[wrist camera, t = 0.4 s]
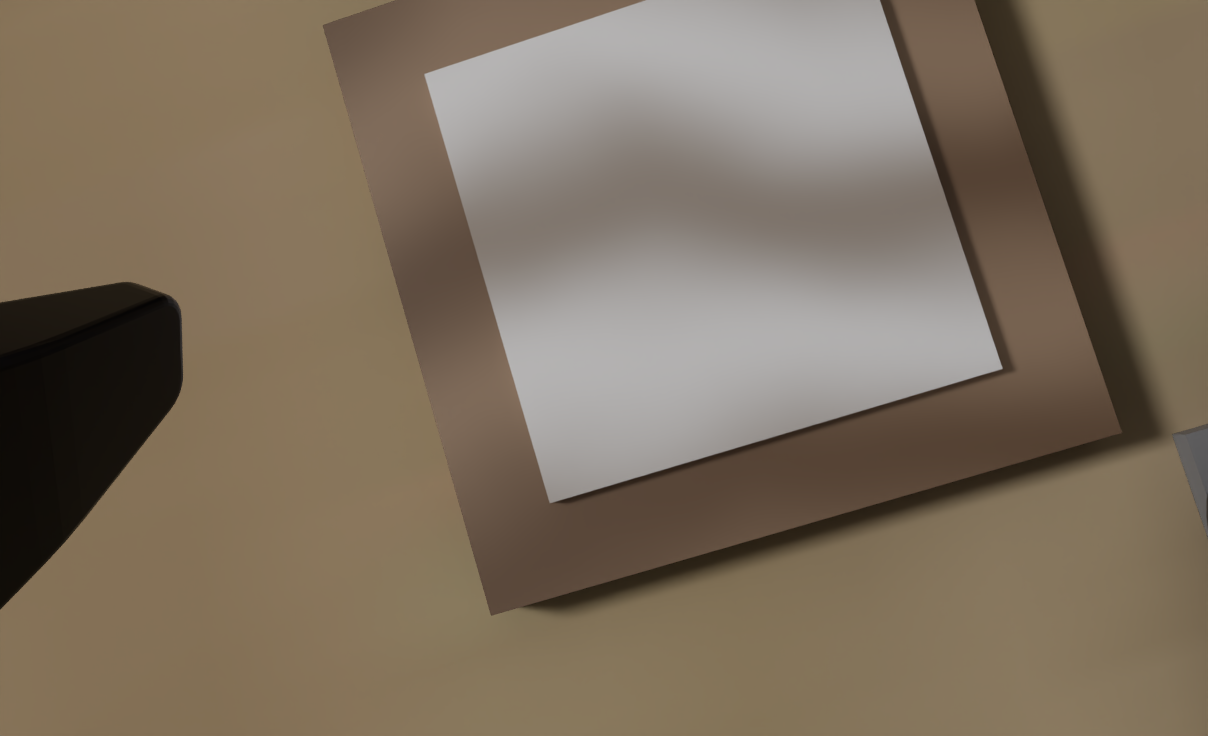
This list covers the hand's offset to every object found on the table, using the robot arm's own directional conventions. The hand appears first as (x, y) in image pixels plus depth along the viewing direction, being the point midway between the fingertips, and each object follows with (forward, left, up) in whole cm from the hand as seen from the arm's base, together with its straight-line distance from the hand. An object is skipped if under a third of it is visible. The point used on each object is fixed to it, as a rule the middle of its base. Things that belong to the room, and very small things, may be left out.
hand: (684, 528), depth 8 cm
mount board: (+5, -2, -15) cm, 16 cm away
